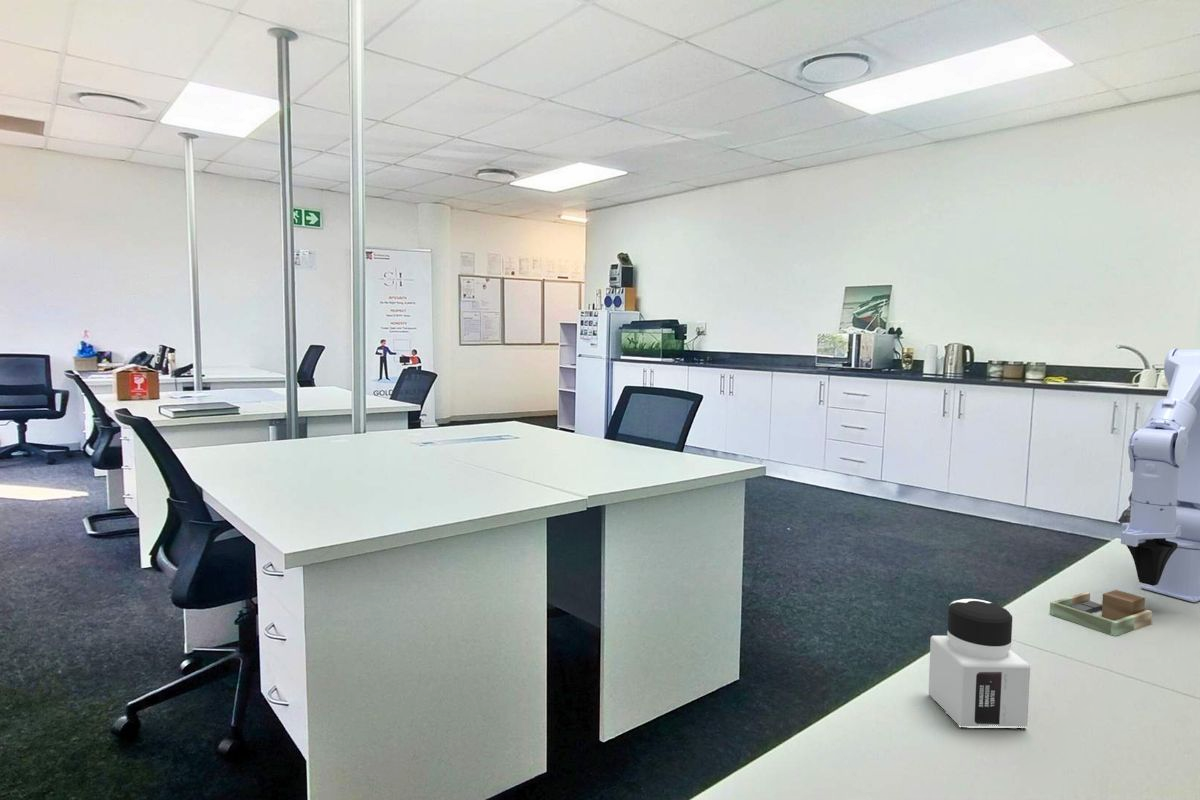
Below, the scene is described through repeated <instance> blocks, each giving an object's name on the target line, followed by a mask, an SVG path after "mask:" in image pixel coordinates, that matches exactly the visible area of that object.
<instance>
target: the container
mask: <svg viewBox="0 0 1200 800" xmlns="http://www.w3.org/2000/svg"><path fill="white" fill-rule="evenodd" d="M947 609H948V611H947V635H932V636H930V645H929V646H930V647H929V669H928V670H929V672H928V696H930V698H932V700H933V701H936V702H937V703H938V704H939V705H940V706H941V707H942V708H943V709H944V710H945V711H946V712H945V711H944V710H943V709H942V708H941V707H940V706H939V705H938V704H937V703H936V702H935V703H936V704H937V705H938V706H939V707H940V708H941V709H942V710H943V711H944V712H945V713H946V715H947V714H948V715H949V716H950V717H951V718H952V719H953V720H954V721H955V722H956V723H957V724H958V725H960V726H979V725H980V726H989V725H990V726H991V725H992V726H993V725H994V726H995V725H996V726H997V725H998V726H1018V727H1019V726H1020V727H1021V726H1022V727H1023V726H1024V727H1025V726H1027V727H1028V721H1029V720H1028V719H1029V717H1028V716H1029V700H1030V695H1029V694H1030V677H1031V666H1030V664H1029V662H1027V661H1026V660H1024V658H1022V657H1020V656H1019V655H1017V653H1015V652H1014V651H1013V650H1011V649H1012V637H1013V615H1012V614H1011V613H1010V611H1009V610H1007V609H1006V608H1005V607H1003V606H1000V605H999V604H997V603H995V602H994V603H993V602H990V601H987V600H984V599H975V598H962V599H957V600H956V599H955V600H953V601H952V602H950V603H949V605H948V608H947ZM948 715H947V716H948ZM949 716H948V717H949ZM950 717H949V718H950ZM951 718H950V719H951ZM952 719H951V720H952ZM953 720H952V721H953ZM954 721H953V722H954ZM955 722H954V723H955ZM956 723H955V724H956ZM957 724H956V725H957ZM958 725H957V726H958Z"/></svg>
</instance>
